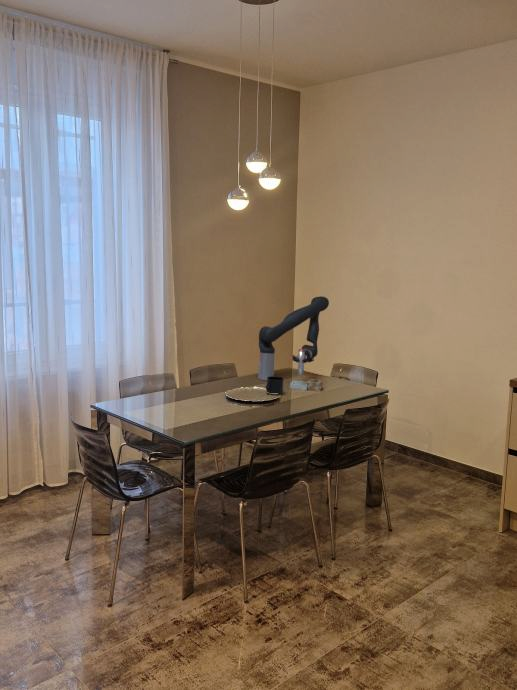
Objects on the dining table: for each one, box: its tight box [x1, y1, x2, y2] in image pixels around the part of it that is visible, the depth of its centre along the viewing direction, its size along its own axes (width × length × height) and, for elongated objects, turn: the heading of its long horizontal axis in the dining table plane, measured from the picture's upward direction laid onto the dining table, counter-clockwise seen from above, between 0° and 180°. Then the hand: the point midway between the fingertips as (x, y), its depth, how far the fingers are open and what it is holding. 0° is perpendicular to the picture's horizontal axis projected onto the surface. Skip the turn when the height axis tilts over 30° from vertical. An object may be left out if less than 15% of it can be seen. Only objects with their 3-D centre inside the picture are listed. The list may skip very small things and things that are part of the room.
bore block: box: [306, 378, 323, 391], centre depth 373 cm, size 8×8×5 cm
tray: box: [289, 380, 308, 391], centre depth 375 cm, size 10×10×3 cm
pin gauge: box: [297, 348, 305, 376], centre depth 372 cm, size 4×4×15 cm
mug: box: [265, 375, 284, 395], centre depth 358 cm, size 9×12×9 cm
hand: (300, 361), depth 370 cm, fingers closed on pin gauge, 3 cm apart
